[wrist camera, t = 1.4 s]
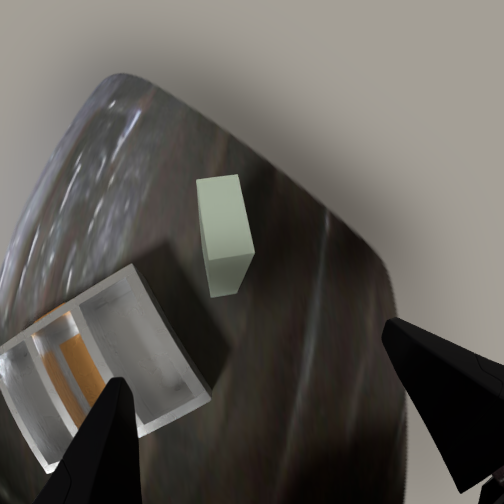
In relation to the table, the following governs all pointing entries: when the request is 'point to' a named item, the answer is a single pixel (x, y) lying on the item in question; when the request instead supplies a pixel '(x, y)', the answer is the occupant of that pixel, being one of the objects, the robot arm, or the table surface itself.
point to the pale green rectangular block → (224, 233)
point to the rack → (97, 364)
